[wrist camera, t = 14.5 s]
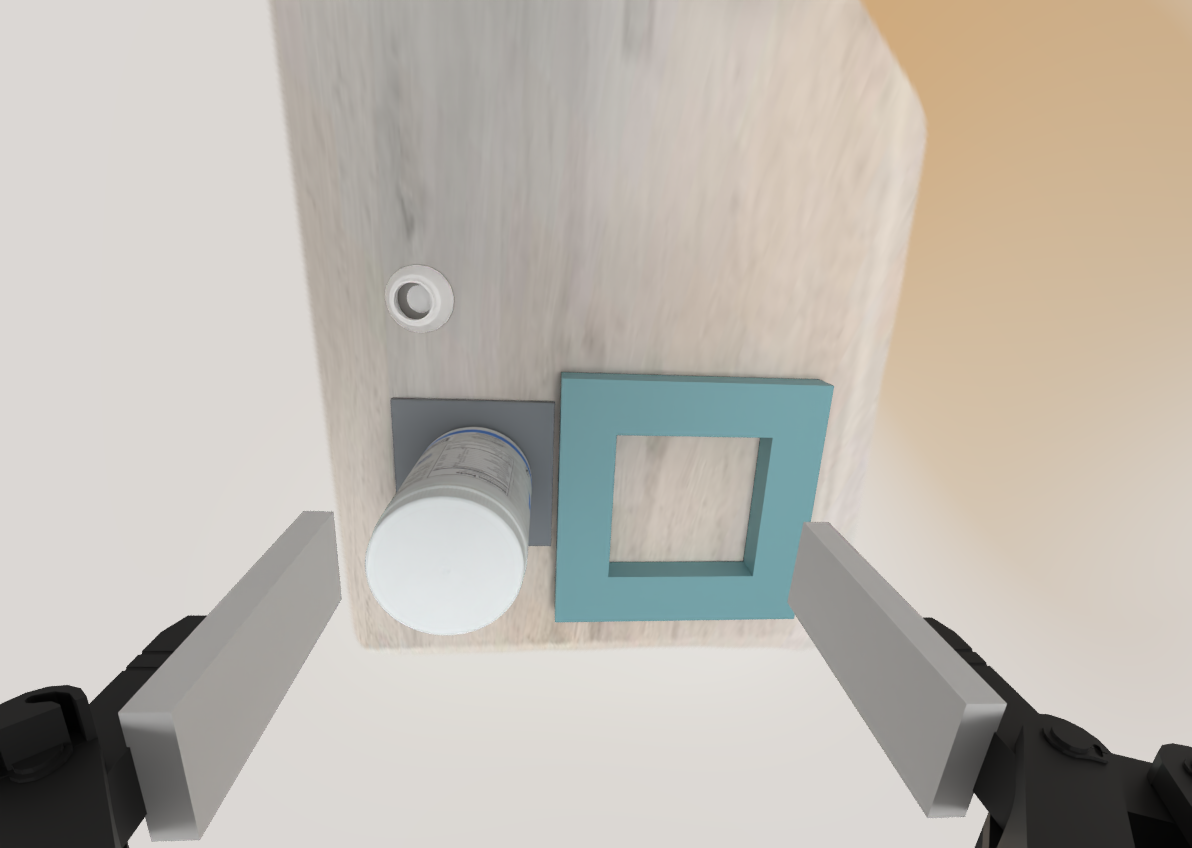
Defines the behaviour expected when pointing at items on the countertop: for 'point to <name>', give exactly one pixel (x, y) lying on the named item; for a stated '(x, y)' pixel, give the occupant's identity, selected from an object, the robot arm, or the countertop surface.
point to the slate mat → (514, 419)
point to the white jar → (420, 298)
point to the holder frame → (684, 408)
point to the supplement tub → (454, 535)
